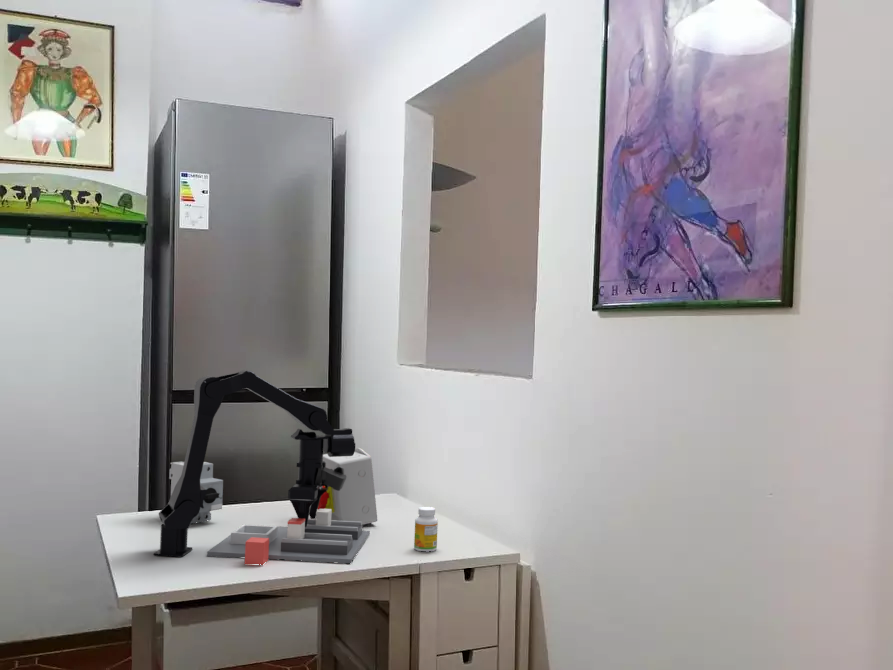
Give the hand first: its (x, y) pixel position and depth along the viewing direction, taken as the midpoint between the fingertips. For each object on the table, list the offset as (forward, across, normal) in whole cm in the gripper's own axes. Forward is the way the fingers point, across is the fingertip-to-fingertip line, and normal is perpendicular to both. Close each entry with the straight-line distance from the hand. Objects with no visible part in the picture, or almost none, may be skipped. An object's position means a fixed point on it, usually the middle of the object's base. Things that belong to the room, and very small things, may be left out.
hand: (308, 522), depth 194 cm
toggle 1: (+2, -10, +1) cm, 10 cm away
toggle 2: (+2, +4, -3) cm, 5 cm away
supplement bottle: (+5, -1, -28) cm, 29 cm away
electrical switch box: (+5, +22, -3) cm, 23 cm away
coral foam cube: (+5, -20, +7) cm, 21 cm away
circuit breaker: (+5, +14, +33) cm, 36 cm away
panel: (+5, -3, +3) cm, 6 cm away
